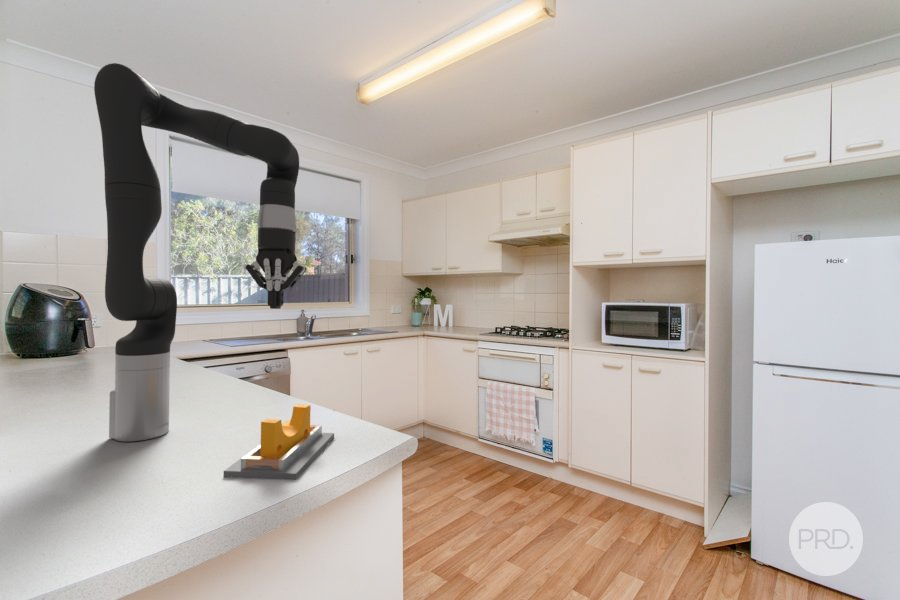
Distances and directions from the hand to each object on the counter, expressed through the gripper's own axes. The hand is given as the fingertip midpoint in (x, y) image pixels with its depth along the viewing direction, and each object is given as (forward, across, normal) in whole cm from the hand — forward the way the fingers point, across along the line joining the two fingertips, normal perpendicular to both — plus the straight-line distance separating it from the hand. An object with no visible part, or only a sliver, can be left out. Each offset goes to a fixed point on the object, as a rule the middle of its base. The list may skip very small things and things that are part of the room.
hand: (275, 308), depth 89 cm
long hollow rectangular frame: (+27, +8, -12) cm, 31 cm away
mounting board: (+27, +8, -12) cm, 31 cm away
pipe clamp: (+25, +8, -13) cm, 30 cm away
